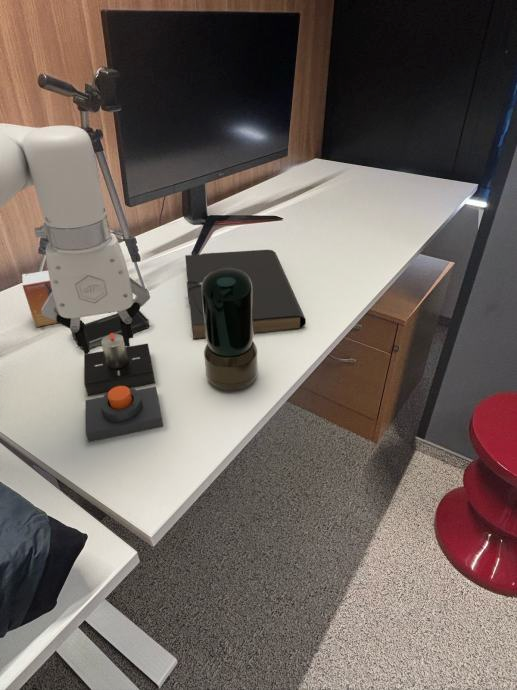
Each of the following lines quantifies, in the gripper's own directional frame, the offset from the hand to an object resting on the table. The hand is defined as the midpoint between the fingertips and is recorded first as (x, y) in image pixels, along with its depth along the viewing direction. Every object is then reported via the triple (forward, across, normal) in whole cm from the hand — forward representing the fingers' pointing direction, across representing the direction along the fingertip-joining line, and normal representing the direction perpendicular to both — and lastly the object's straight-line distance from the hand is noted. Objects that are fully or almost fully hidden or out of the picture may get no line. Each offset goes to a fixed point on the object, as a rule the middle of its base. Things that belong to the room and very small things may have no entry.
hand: (107, 344), depth 73 cm
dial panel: (+15, 0, +12) cm, 20 cm away
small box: (+16, -13, +37) cm, 42 cm away
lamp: (+16, +20, +5) cm, 26 cm away
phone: (+15, -1, +28) cm, 32 cm away
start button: (+12, 0, 0) cm, 12 cm away
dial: (+12, 0, +12) cm, 17 cm away
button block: (+15, 0, 0) cm, 15 cm away
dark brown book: (+16, +29, +34) cm, 47 cm away
